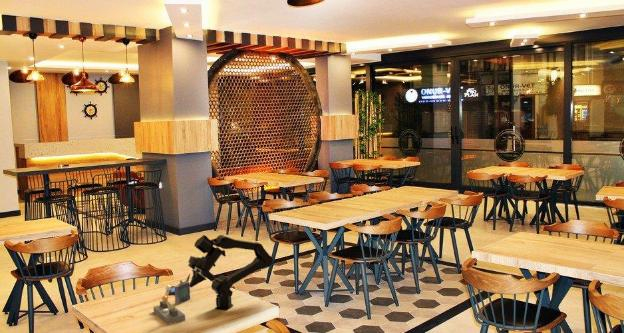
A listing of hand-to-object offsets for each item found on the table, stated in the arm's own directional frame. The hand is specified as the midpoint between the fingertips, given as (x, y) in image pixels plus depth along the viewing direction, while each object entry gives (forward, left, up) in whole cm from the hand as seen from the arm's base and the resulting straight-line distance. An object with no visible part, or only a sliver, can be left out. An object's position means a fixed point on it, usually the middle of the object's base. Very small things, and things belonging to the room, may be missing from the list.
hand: (190, 286), depth 255 cm
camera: (+26, -30, -14) cm, 42 cm away
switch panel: (+10, +3, -14) cm, 17 cm away
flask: (+15, -16, -14) cm, 26 cm away
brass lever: (+5, +7, -10) cm, 13 cm away
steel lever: (+15, -1, -10) cm, 18 cm away
